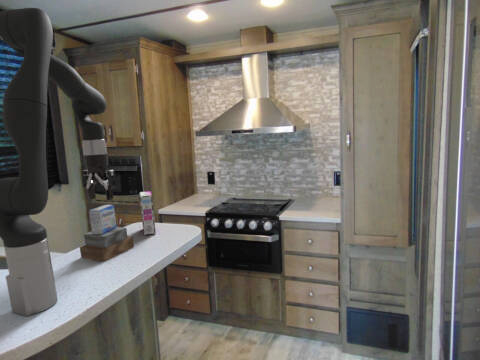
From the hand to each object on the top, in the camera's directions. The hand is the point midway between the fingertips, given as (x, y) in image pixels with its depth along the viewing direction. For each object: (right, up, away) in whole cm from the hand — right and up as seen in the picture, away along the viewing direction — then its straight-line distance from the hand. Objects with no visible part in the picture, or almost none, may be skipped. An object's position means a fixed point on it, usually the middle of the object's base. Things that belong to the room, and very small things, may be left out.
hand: (101, 199), depth 120 cm
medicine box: (0, -12, +2) cm, 12 cm away
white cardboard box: (+10, -15, +25) cm, 31 cm away
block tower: (+1, -19, +3) cm, 20 cm away
